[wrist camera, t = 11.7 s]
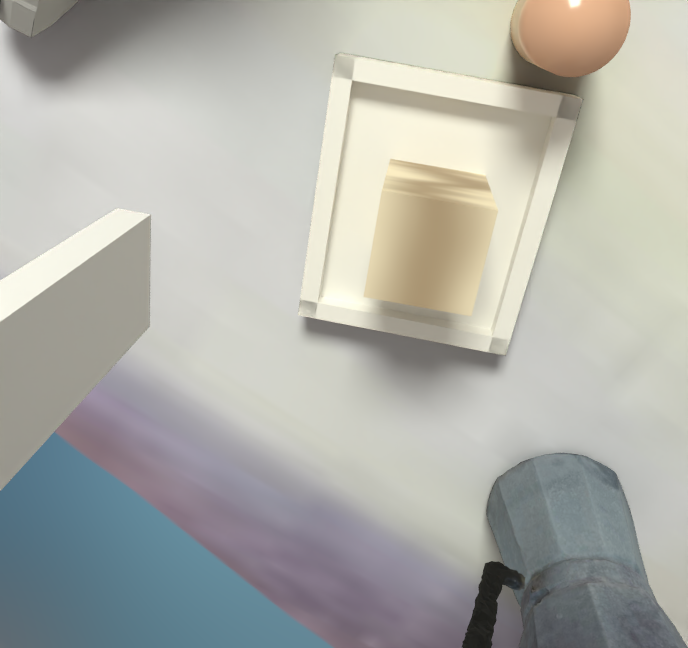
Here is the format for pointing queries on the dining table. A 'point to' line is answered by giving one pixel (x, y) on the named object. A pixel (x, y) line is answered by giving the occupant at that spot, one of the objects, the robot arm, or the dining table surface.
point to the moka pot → (568, 561)
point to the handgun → (33, 14)
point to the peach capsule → (569, 33)
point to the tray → (441, 151)
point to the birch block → (431, 237)
